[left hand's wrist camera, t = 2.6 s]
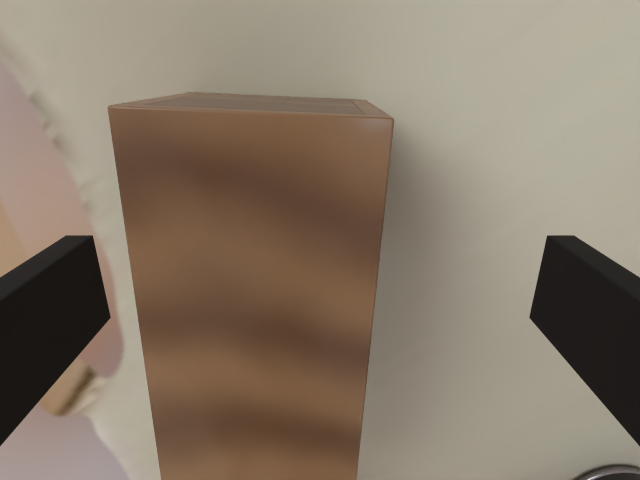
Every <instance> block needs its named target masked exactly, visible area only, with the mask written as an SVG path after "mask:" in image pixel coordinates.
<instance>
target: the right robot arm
mask: <svg viewBox="0 0 640 480" xmlns="http://www.w3.org/2000/svg"><path fill="white" fill-rule="evenodd" d="M578 480H640V469H639V468H635V467H630V466H612V467H606V468H601V469H598V470H595V471H592V472H590V473H588V474H586V475H584V476H582V477H581V478H579V479H578Z"/></svg>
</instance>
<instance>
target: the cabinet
mask: <svg viewBox="0 0 640 480" xmlns="http://www.w3.org/2000/svg"><path fill="white" fill-rule="evenodd" d="M108 113H109V120H110V127H111V134H112V141H113V148H114V154H115V161H116V168H117V175H118V182H119V189H120V196H121V203H122V210H123V217H124V224H125V231H126V238H127V244H128V251H129V258H130V265H131V272H132V279H133V286H134V293H135V300H136V307H137V314H138V321H139V328H140V335H141V341H142V348H143V355H144V362H145V369H146V376H147V383H148V390H149V397H150V404H151V411H152V418H153V425H154V432H155V438H156V445H157V452H158V459H159V466H160V473H161V480H356V477H357V467H358V458H359V448H360V439H361V429H362V420H363V410H364V401H365V391H366V382H367V372H368V363H369V353H370V344H371V334H372V325H373V315H374V306H375V296H376V286H377V277H378V267H379V258H380V248H381V239H382V229H383V220H384V210H385V201H386V191H387V182H388V172H389V163H390V153H391V144H392V134H393V125H394V119H393V118H392V117H390V116H389V115H388V114H386V113H385V112H383V111H382V110H380V109H378V108H377V107H375V106H374V105H372V104H371V103H369V102H368V101H366V100H352V99H329V98H306V97H283V96H261V95H238V94H215V93H192V92H188V93H183V94H177V95H171V96H165V97H159V98H152V99H146V100H140V101H134V102H128V103H122V104H116V105H110V106H108Z"/></svg>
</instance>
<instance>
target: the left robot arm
mask: <svg viewBox="0 0 640 480" xmlns="http://www.w3.org/2000/svg"><path fill="white" fill-rule="evenodd" d="M529 318H530V319H531V320H532V321H533V322H534V324H535V325H536V326H537V327H538V328H539V329H540V331H541V332H542V333H543V334H544V335H545V336H546V338H547V339H548V340H549V341H550V342H551V343H552V344H553V346H554V347H555V348H556V349H557V350H558V351H559V353H560V354H561V355H562V356H563V357H564V358H565V360H566V361H567V362H568V363H569V364H570V365H571V367H572V368H573V369H574V370H575V371H576V372H577V374H578V375H579V376H580V377H581V378H582V379H583V381H584V382H585V383H586V384H587V385H588V386H589V388H590V389H591V390H592V391H593V392H594V393H595V395H596V396H597V397H598V398H599V399H600V400H601V402H602V403H603V404H604V405H605V406H606V407H607V409H608V410H609V411H610V412H611V413H612V414H613V416H614V417H615V418H616V419H617V420H618V421H619V423H620V424H621V425H622V426H623V427H624V428H625V430H626V431H627V432H628V433H629V434H630V435H631V437H632V438H633V439H634V440H635V441H636V442H637V444H638V445H639V446H640V277H638V276H636V275H635V274H633V273H632V272H630V271H629V270H627V269H625V268H624V267H622V266H621V265H619V264H618V263H616V262H614V261H613V260H611V259H610V258H608V257H607V256H605V255H604V254H602V253H600V252H599V251H597V250H596V249H594V248H593V247H591V246H589V245H588V244H586V243H585V242H583V241H582V240H580V239H578V238H577V237H575V236H547V239H546V244H545V248H544V253H543V258H542V262H541V267H540V271H539V276H538V281H537V285H536V290H535V294H534V299H533V303H532V308H531V313H530V317H529ZM109 319H110V313H109V308H108V303H107V299H106V294H105V290H104V285H103V281H102V276H101V271H100V267H99V262H98V258H97V253H96V248H95V244H94V239H93V236H65V237H63V238H62V239H60V240H59V241H57V242H55V243H54V244H52V245H51V246H49V247H48V248H46V249H44V250H43V251H41V252H40V253H38V254H36V255H35V256H33V257H32V258H30V259H29V260H27V261H26V262H24V263H22V264H21V265H19V266H18V267H16V268H15V269H13V270H11V271H10V272H8V273H7V274H5V275H4V276H2V277H0V446H1V445H2V443H3V442H4V441H5V440H6V439H7V438H8V437H9V435H10V434H11V433H12V432H13V431H14V430H15V428H16V427H17V426H18V425H19V424H20V423H21V421H22V420H23V419H24V418H25V417H26V416H27V414H28V413H29V412H30V411H31V410H32V409H33V407H34V406H35V405H36V404H37V403H38V402H39V400H40V399H41V398H42V397H43V396H44V395H45V393H46V392H47V391H48V390H49V389H50V388H51V386H52V385H53V384H54V383H55V382H56V381H57V379H58V378H59V377H60V376H61V375H62V374H63V372H64V371H65V370H66V369H67V368H68V367H69V365H70V364H71V363H72V362H73V361H74V360H75V358H76V357H77V356H78V355H79V354H80V353H81V351H82V350H83V349H84V348H85V347H86V346H87V344H88V343H89V342H90V341H91V340H92V339H93V338H94V336H95V335H96V334H97V333H98V332H99V330H100V329H101V328H102V327H103V326H104V325H105V323H106V322H107V321H108V320H109Z"/></svg>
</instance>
